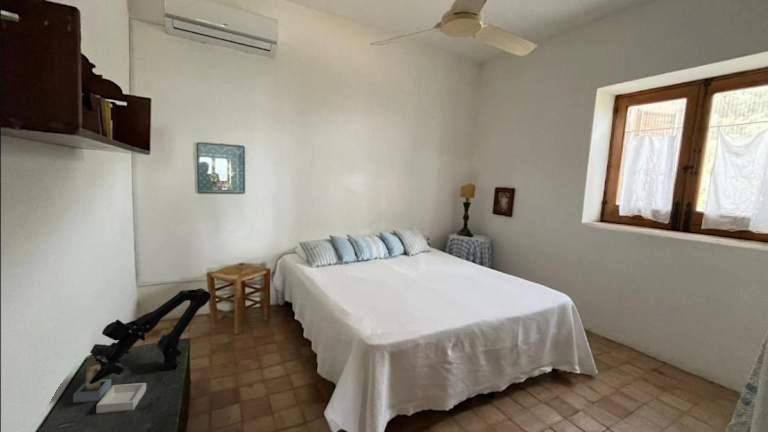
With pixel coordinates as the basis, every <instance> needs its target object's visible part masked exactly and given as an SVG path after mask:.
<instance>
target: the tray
mask: <svg viewBox="0 0 768 432" xmlns="http://www.w3.org/2000/svg"><path fill="white" fill-rule="evenodd" d="M146 391H147V382H140V383H125V384H123V383H122V384H113V385H111V387H110V389H109V390H108V391H107V392H106V394H105V395H104V396H103V397H102V398H101V400H100V401H98V403H97V404H96V412H95V413H96V415H97V414H109V413H118V412H128V411H129V412H130V411H134V410H135V408H136V407H137V405H138V403H139V402H140V400H141V399H142V397H143V396H144V395H145V394H146V393H145V392H146Z"/></svg>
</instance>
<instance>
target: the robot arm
mask: <svg viewBox="0 0 768 432" xmlns="http://www.w3.org/2000/svg"><path fill="white" fill-rule="evenodd" d="M211 298H212V295H211V293H210V292H209V291H207V290H206V289H204V288H201V287H200V288H196V289H187V290H180V291H179V292H178V293H177V294H175V295H174V296H173V297H171V298H170V299H169V300H167V301H166V302H164V303H163V304H162V305H160V306H159V307H157V308H156V309H155V310H153V311H151V312H147V313H145V314H143V315H141V316H139V317H138V318H136V319H134V320H132V321H129V322H126V323H124V322H122V320H120V319H116V320H115V321H112V322H110V323H108V324H107V325H106V326H105V327H104V328H103V330H102V333H101V334H102V335H103V336H105V337H106V338H109V339H111V340H113V341H114V342H112V343H111V344H109V345H108V344H99V343H98V344H97V343H95V344H94V345H93V347H92V348H91V349H90V352H89V353H90V354H91V356H92V357H93V358H94V362H95V361H100V362H101V365H100V370H99V371H98V372H97V374H96V375H95V376H94V377H93V378H92V380H91V381H90V382H89V383H90V384H93V383H95V382H97V381H98V380H100V379H101V380H103V379H104V378H107V377H108V376H110V375H112V374H115V375H116V376H121V374H122V373H123V372H124V371H125V368H124V366H123V365H122V364H121V359H122V358H123V357H124V356H125V355H128V354H129V353H130V349H132V347H134V345H135V344H136V343H137V342H139V340H141V341H145V340H146V334H147V333H149V332H151V331H152V330H153V329H154V328H155V327H157V326H158V325H159V323H160V321H161V320H162V319H164V317H165V316H167V315H169V314H170V313H171V312H172V311H174V310H175V309H176V308H178V307H179V306H181V305H182V304H184V302H186V301H189V305H187V308H186V309H185V310H184V312H183V313H182V315H181V317H180V318H179V319H178V321H177V322H176V323H175V325H174V327H173V328H172V329H171V331H170V332H169V333H168V334H162V335H161V338H160V339H159V340H157V345H156V348H157V350H158V351H159V352H160V353H161V354H162V355H163V363H162V366H161V368H160V369H159V370H160V371H173V370H174V371H176V370H177V369H178V367H179V366H180V363H181V360H179V357H181V356H182V355H181V354H182V353H183V352H182V350H181V349H180V348H179V347H178V346H179V344H180V339H181V336H182V335H183V333H184V332H185V330H186V329H187V328H188V325H189V324H190V323H191V322H192V320H193V318H194V317H195V316H196V314H197V312H198V311H199V310H200V309H201V308H202V307H204V306H206V305H207V303H208V302H209V301H210V300H211ZM116 341H117V342H116Z"/></svg>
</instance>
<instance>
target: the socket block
mask: <svg viewBox="0 0 768 432" xmlns="http://www.w3.org/2000/svg"><path fill="white" fill-rule="evenodd" d="M111 387H112V378H107V379H104V378H103V379H101V384H100V389H99V390H98V391H86V381H85V382H84V383H83V384H82V385H81V386H79V388H78V389H77V390H76V391H75V392H74V393H73V394H72V395H73V399H72V400H73V403H76V404H77V403H87V402H88V403H89V402H100V400H101V399H102V398H103V397H104V396H105V394H106V393H107V392H108V391H109V389H110V388H111Z"/></svg>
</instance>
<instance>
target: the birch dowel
mask: <svg viewBox="0 0 768 432" xmlns="http://www.w3.org/2000/svg"><path fill="white" fill-rule="evenodd" d="M100 365H101V362H100V361H95V360H94V361H92V362H89V363H87V364H86V366H85V382H86V391H98V390H99V389H100V384H101V380H102V379H100V380H98V381H97V382H95V383H93V384H90V383H89V382H90V381H91V380H92V378H93V377H94V376H95V375H96V374H97V372H98V371H99V370H100Z"/></svg>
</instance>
